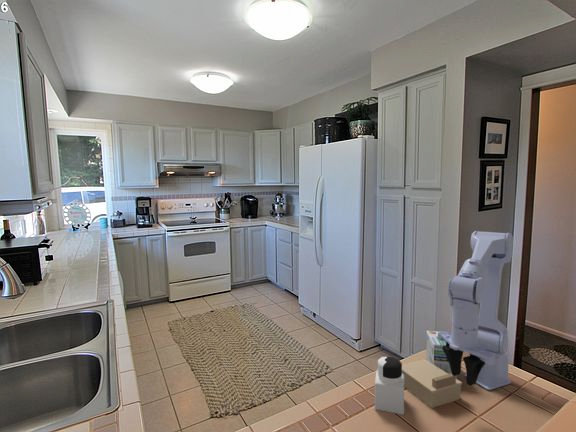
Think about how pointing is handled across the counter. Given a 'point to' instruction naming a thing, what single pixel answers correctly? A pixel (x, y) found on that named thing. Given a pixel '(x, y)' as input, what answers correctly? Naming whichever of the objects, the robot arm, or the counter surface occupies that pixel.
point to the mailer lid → (430, 376)
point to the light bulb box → (437, 352)
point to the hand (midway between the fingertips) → (463, 379)
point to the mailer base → (429, 397)
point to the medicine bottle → (389, 386)
